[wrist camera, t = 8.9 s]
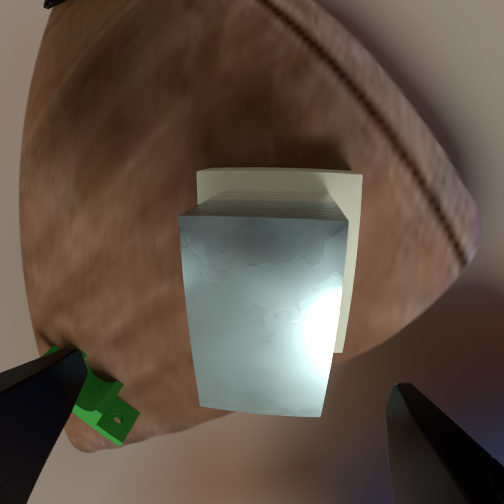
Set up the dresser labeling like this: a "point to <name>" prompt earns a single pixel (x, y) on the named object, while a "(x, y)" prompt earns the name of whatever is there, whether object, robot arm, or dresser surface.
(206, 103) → the dresser surface
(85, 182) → the dresser surface
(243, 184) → the sage stand
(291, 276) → the grey-blue rectangular block
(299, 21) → the dresser surface
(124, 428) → the pipe clamp
